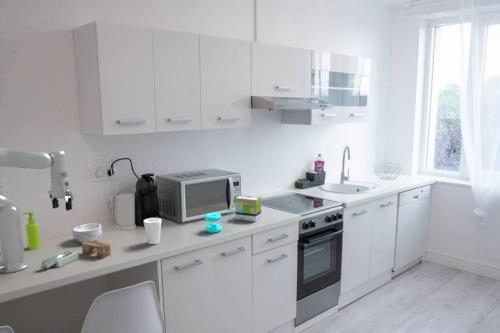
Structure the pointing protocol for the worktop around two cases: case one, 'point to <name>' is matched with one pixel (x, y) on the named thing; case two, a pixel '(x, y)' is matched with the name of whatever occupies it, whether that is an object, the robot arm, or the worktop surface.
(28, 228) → the soap dispenser
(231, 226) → the worktop surface
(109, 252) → the brown wooden block
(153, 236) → the foam cup
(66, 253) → the axle
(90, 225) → the paper bowls
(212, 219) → the donuts
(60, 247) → the worktop surface
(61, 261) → the cradle
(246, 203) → the tea box
